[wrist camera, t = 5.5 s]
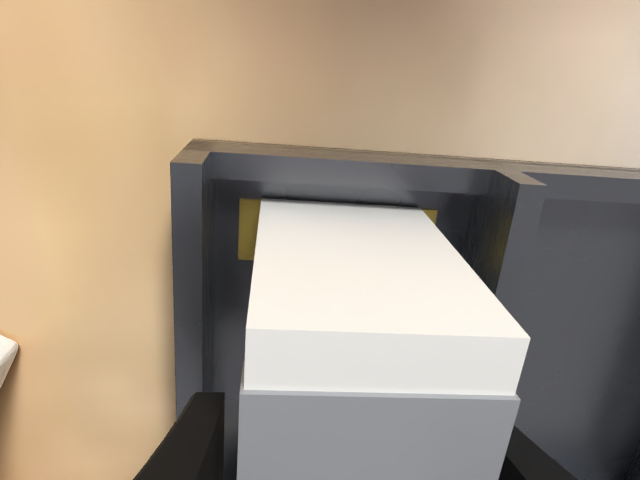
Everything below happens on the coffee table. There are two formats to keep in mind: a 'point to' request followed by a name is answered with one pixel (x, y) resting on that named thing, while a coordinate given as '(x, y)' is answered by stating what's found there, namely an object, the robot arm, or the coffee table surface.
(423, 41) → the coffee table surface
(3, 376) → the ink box
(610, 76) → the coffee table surface
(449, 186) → the rack
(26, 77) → the coffee table surface
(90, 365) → the coffee table surface
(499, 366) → the white and grey box
